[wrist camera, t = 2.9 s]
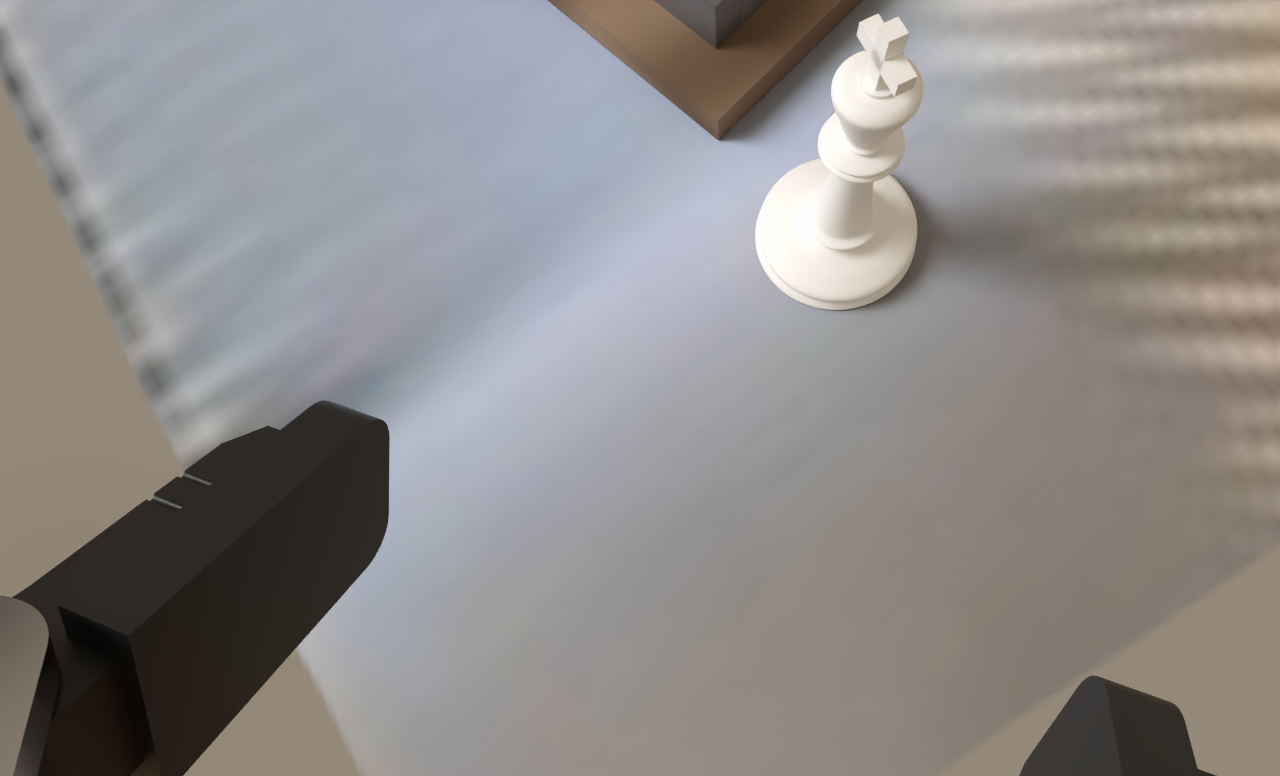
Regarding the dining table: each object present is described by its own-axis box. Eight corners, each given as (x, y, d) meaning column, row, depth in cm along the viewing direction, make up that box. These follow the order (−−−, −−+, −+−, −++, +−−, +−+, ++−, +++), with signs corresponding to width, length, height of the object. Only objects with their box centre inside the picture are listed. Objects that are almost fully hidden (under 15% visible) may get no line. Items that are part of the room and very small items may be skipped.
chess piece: (868, 140, 27) (944, -111, 18) (945, 269, 26) (1071, 74, 16) (729, 203, 27) (729, -14, 18) (798, 336, 26) (838, 180, 16)
